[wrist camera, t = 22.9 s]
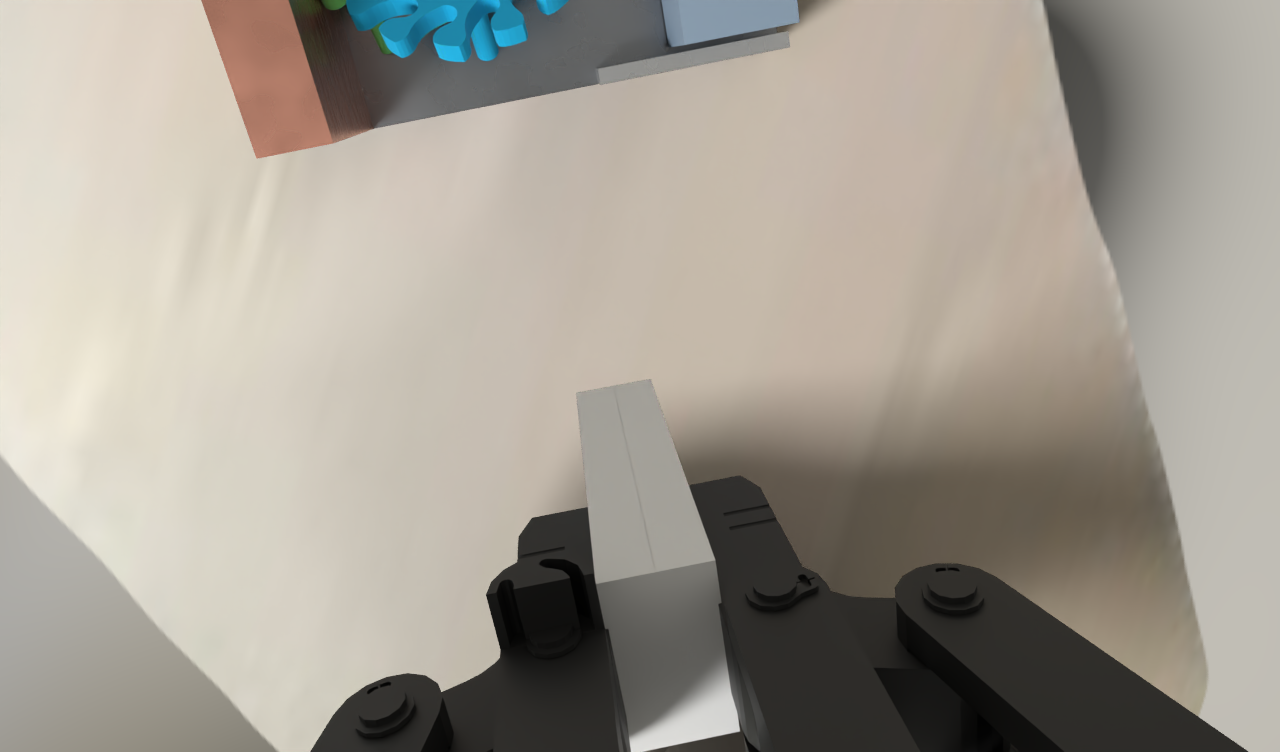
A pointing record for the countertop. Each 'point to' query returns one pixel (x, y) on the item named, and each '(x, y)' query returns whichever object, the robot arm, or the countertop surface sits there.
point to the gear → (428, 3)
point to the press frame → (431, 64)
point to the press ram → (723, 18)
